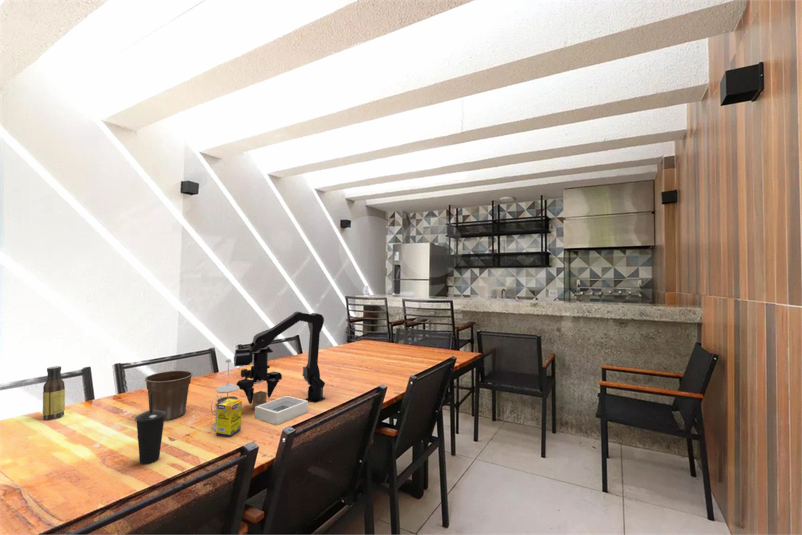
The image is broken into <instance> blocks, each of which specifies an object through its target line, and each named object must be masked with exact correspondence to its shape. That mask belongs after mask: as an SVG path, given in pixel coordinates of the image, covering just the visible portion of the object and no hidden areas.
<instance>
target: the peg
mask: <svg viewBox="0 0 802 535" xmlns="http://www.w3.org/2000/svg"><path fill="white" fill-rule="evenodd" d="M267 402H268V395H267V391H263V390H259V391H256V392H254V393H253V399H252V403H251V404H252V405H251V409H252V411H254V412H255V407H256V406H258V405H261V404H264V403H267Z"/></svg>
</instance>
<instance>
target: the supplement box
mask: <svg viewBox="0 0 802 535" xmlns="http://www.w3.org/2000/svg"><path fill="white" fill-rule="evenodd" d="M242 407H243V400H241V399H237V400H236V399H227V400H225V401H223V402H221V403H219V404H218V405H217V425H216V430H215V434H216V435H217V436H223V437H229V438H230V437H232V436H233V435H235V434H236V433H237V432H239V431H241V428H242V427H241V426H242V409H243V408H242Z"/></svg>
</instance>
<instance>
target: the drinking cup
mask: <svg viewBox="0 0 802 535" xmlns="http://www.w3.org/2000/svg"><path fill="white" fill-rule="evenodd" d="M165 415H166V412H165V411H161V410H153V394H150V410H146V411H144V412H142V413H140V414H137V415H135V417H134V418H135V421H136V432H137V444H138V446H137V447H138V454H139V455H138V456H139V464H140V465H149V464H150V465H151V464H152V462H153V463H156V462H157V461H158V460H159V459H160V456H161V455H160V453H161V448H162V447H161V446H162V439H163V431H164V424H165V421H164V417H165Z"/></svg>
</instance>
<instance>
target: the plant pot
mask: <svg viewBox="0 0 802 535" xmlns="http://www.w3.org/2000/svg"><path fill="white" fill-rule="evenodd" d="M192 376H193V372H191V371H189V370H188V371H187V370H168V371H162V372H158V373H153V374H150V375H148V376H145V378H144V381H145V383H146V390H147V397H148V399H147V400H148V409H149V410H150V394H153V410H161V411H165V412H166V415H165V417H164V422H166V421H171V420H175V419H178V418H180V417H181V416H184V415H185V414H186V409H187V403H188V396H189V395H188V394H189V389H190V384H191V380H192ZM149 410H148V411H149Z"/></svg>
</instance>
